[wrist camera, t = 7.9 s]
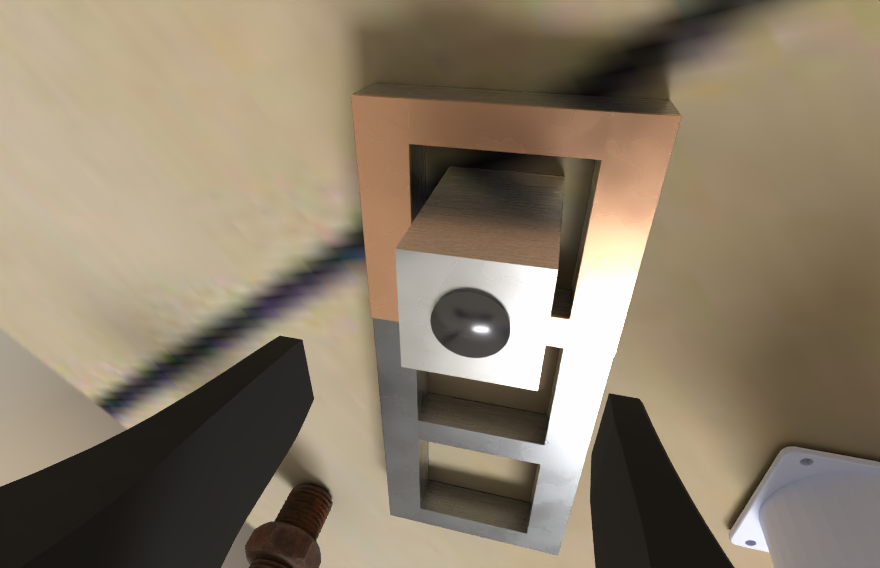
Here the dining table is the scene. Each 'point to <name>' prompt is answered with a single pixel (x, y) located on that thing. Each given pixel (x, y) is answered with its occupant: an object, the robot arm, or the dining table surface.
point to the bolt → (291, 532)
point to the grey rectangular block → (481, 276)
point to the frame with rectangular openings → (573, 311)
